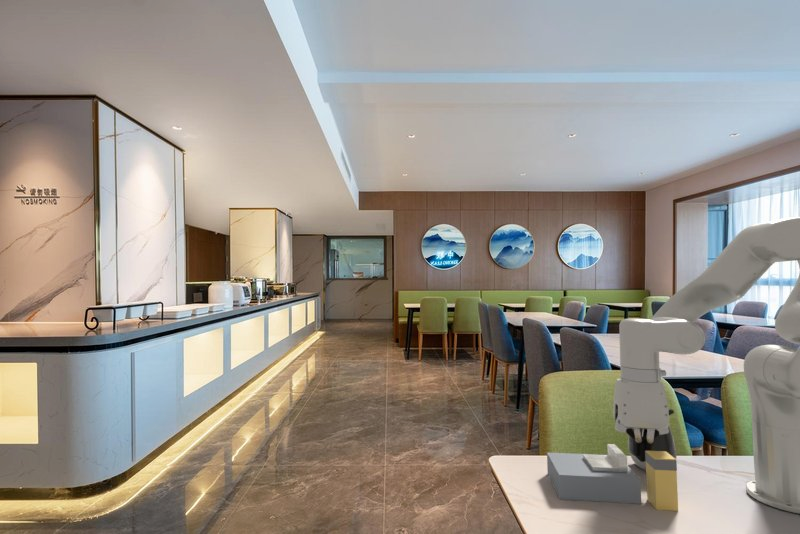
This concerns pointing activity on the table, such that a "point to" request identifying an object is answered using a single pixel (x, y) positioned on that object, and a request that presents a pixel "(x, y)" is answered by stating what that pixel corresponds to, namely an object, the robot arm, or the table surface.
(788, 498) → the robot arm
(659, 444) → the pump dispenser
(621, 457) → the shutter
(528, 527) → the table surface
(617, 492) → the socket board
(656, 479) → the plug
